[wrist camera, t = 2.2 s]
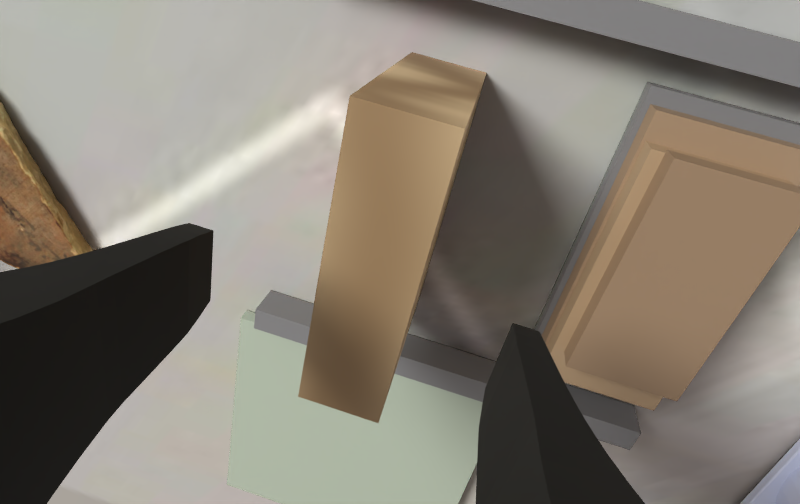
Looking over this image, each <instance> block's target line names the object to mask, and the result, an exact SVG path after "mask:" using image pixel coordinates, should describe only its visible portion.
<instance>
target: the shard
mask: <svg viewBox="0 0 800 504" xmlns="http://www.w3.org/2000/svg"><path fill="white" fill-rule="evenodd" d="M90 251H93V250H92V248H91V247H90V246H89V244H88V243H87V242H86V240H85V239H84V238H83V236H82V234H81V233H80V231H79V230H78V228H77V227H76V225H75V223H74V221H73V220H72V219H71V218H70V217H69V215H68V213H67V211H66V210H65V208H64V207H63V206H62V205H61V204H60V203H59V202H58V201H57V199H56V197H55V195H54V194H53V192H52V189H51V187H50V186H49V184H48V183H47V181H46V179H45V177H44V176H43V175H42V173H41V171H40V169H39V167H38V165H37V164H36V162H35V161H34V160H33V158H32V156H31V155H30V153H29V152H28V150H27V147H26V146H25V144H24V143H23V142H22V140H21V138H20V136H19V134H18V132H17V130H16V129H15V127H14V125H13V124H12V122H11V120H10V117H9V116H8V114H7V112H6V110H5V108H4V106H3V104H2V103H1V101H0V260H1V261H3V262H5V263H7V264H8V265H11V266H13V267H15V268H18V269H20V268H26V267H30V266H35V265H40V264H44V263H48V262H53V261H56V260H60V259H64V258H68V257H72V256H75V255H79V254H83V253H87V252H90Z"/></svg>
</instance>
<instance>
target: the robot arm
mask: <svg viewBox="0 0 800 504" xmlns="http://www.w3.org/2000/svg"><path fill="white" fill-rule="evenodd" d="M212 250H213V230H210V229H206V228H203V227H200V226H197V225H193V224H190V223H188V224H183V225H179V226H175V227H172V228H168V229H165V230H161V231H158V232H154V233H151V234H148V235H145V236H141V237H138V238H135V239H132V240H128V241H125V242H122V243H118V244H115V245H112V246H108V247H105V248H102V249H98V250H94V251H90V252H87V253H83V254H79V255H75V256H72V257H68V258H64V259H60V260H56V261H53V262H48V263H44V264H40V265H35V266H30V267H26V268H20V269H15V270H10V271H4V272H0V504H47V502H48V501H49V499H50V498H51V497H52V495H53V494H54V492H55V491H56V490H57V488H58V487H59V485H60V484H61V483H62V481H63V480H64V478H65V477H66V476H67V474H68V473H69V471H70V470H71V469H72V467H73V466H74V465H75V463H76V462H77V460H78V459H79V458H80V456H81V455H82V454H83V452H84V451H85V450H86V448H87V447H88V446H89V444H90V443H91V442H92V440H93V439H94V438H95V436H96V435H97V434H98V433H99V431H100V430H101V429H102V427H103V426H104V425H105V423H106V422H107V421H108V419H109V418H110V417H111V416H112V415H113V414H114V412H115V411H116V410H117V409H118V408H119V407H120V405H121V404H122V403H123V402H124V401H125V400H126V399H127V398H128V397H129V396H130V395H131V393H132V392H133V391H134V390H135V389H136V388H137V387H138V386H139V385H140V384H141V383H142V382H143V381H144V380H145V379H146V378H147V376H148V375H149V374H150V373H151V372H152V371H153V370H154V369H155V368H156V367H157V366H158V365H159V364H160V363H161V362H162V360H163V359H164V358H165V357H166V356H167V355H168V354H169V353H170V352H171V351H172V350H173V349H174V347H175V346H176V345H177V344H178V343H179V342H180V341H181V340H182V339H183V338H184V336H185V335H186V334H187V333H188V332H189V330H190V329H191V328H192V326H193V325H194V323H195V322H196V321H197V319H198V318H199V316H200V315H201V313H202V312H203V310H204V309H205V307H206V306H207V304H208V303H209V302H210V295H211V272H212ZM476 504H645V503H644V502H643V501H642V499H641V498H640V497H639V495H638V494H637V493H636V492H635V490H634V489H633V488H632V487H631V485H630V484H629V483H628V481H627V480H626V479H625V477H624V476H623V475H622V473H621V472H620V471H619V469H618V468H617V466H616V465H615V464H614V462H613V461H612V460H611V458H610V457H609V456H608V454H607V453H606V451H605V450H604V448H603V447H602V445H601V444H600V442H599V441H598V439H597V438H596V436H595V434H594V433H593V431H592V430H591V428H590V426H589V425H588V423H587V422H586V420H585V418H584V417H583V415H582V413H581V412H580V410H579V408H578V406H577V405H576V403H575V401H574V399H573V397H572V395H571V394H570V392H569V390H568V388H567V386H566V384H565V382H564V380H563V378H562V376H561V374H560V372H559V370H558V368H557V366H556V364H555V362H554V360H553V358H552V356H551V354H550V352H549V350H548V348H547V346H546V344H545V342H544V340H543V338H542V336H541V334H540V332H539V331H536V330H533V329H530V328H526V327H523V326H520V325H517V324H514V323H513V324H512V326H511V329H510V331H509V333H508V336H507V338H506V340H505V343H504V345H503V347H502V350H501V352H500V355H499V357H498V359H497V362H496V364H495V366H494V369H493V371H492V373H491V376H490V378H489V380H488V383H487V385H486V387H485V392H484V398H483V404H482V410H481V416H480V423H479V432H478V457H477V486H476ZM740 504H800V439H799V440H798V441H797V442H796V443H795V444H794V445H793V447H792V448H791V449H790V450H789V451H788V452H787V453H786V454H785V455H784V456H783V457H782V459H781V460H780V461H779V462H778V463H777V464H776V465H775V466H774V467H773V468H772V469H771V470H770V472H769V473H768V474H767V475H766V476H765V477H764V478H763V479H762V480H761V481H760V482H759V483H758V485H757V486H756V487H755V488H754V489H753V490H752V491H751V492H750V493H749V494H748V495H747V496H746V498H745V499H744V500H743V501H742V502H741V503H740Z"/></svg>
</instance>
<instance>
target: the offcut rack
mask: <svg viewBox="0 0 800 504" xmlns="http://www.w3.org/2000/svg"><path fill="white" fill-rule="evenodd" d="M473 1H477V2H481V3H485V4H488V5H492V6H496V7H500V8H503V9H507V10H511V11H515V12H518V13H522V14H526V15H530V16H533V17H537V18H541V19H545V20H548V21H552V22H556V23H560V24H563V25H567V26H571V27H575V28H578V29H582V30H586V31H590V32H593V33H597V34H601V35H605V36H608V37H612V38H616V39H620V40H623V41H627V42H631V43H634V44H638V45H642V46H646V47H649V48H653V49H657V50H661V51H664V52H668V53H672V54H676V55H679V56H683V57H687V58H691V59H694V60H698V61H702V62H706V63H709V64H713V65H717V66H721V67H724V68H728V69H732V70H736V71H739V72H743V73H747V74H751V75H754V76H758V77H762V78H766V79H769V80H773V81H777V82H781V83H784V84H788V85H792V86H795V87H799V88H800V42H796V41H793V40H789V39H785V38H781V37H777V36H773V35H770V34H766V33H762V32H758V31H754V30H750V29H747V28H743V27H739V26H735V25H731V24H727V23H724V22H720V21H716V20H712V19H708V18H705V17H701V16H697V15H693V14H689V13H685V12H682V11H678V10H674V9H670V8H666V7H662V6H659V5H655V4H651V3H647V2H643V1H639V0H473ZM799 185H800V123H797V122H794V121H790V120H786V119H783V118H779V117H775V116H772V115H768V114H764V113H761V112H757V111H753V110H749V109H746V108H742V107H738V106H735V105H731V104H727V103H724V102H720V101H716V100H713V99H709V98H705V97H702V96H698V95H694V94H691V93H687V92H683V91H680V90H676V89H672V88H669V87H665V86H661V85H658V84H654V83H650V82H647V84H646V86H645V88H644V91H643V93H642V95H641V97H640V99H639V102H638V104H637V106H636V108H635V110H634V112H633V115H632V117H631V119H630V121H629V123H628V126H627V128H626V130H625V132H624V134H623V137H622V139H621V141H620V143H619V145H618V147H617V150H616V152H615V154H614V156H613V158H612V161H611V163H610V165H609V167H608V169H607V172H606V174H605V176H604V178H603V180H602V182H601V185H600V187H599V189H598V191H597V193H596V196H595V198H594V200H593V202H592V204H591V206H590V209H589V211H588V213H587V215H586V217H585V220H584V222H583V224H582V226H581V228H580V231H579V233H578V235H577V237H576V239H575V241H574V244H573V246H572V248H571V250H570V252H569V255H568V257H567V259H566V261H565V263H564V266H563V268H562V270H561V272H560V274H559V276H558V279H557V281H556V283H555V285H554V287H553V290H552V292H551V294H550V296H549V298H548V301H547V303H546V305H545V307H544V309H543V311H542V314H541V316H540V318H539V320H538V322H537V325H536V327H535V329H534V330H536V331H539V332H540V334H541V336H542V338H543V340H544V342H545V344H546V346H547V348H548V350H549V352H550V354H551V356H552V358H553V360H554V362H555V364H556V366H557V368H558V370H559V372H560V374H561V376H562V378H563V380H564V382H565V383H568V384H571V385H575V386H578V387H581V388H584V389H587V390H590V391H593V392H597V393H600V394H603V395H606V396H609V397H612V398H615V399H619V400H622V401H625V402H628V403H631V404H634V405H638V406H641V407H644V408H647V409H650V410H653V411H654V410H655V408H656V407H657V405H658V404H659V402H660V401H661V399H662V398H663V397H665V398H668V399H671V400H674V401H678V399H679V398H680V397H681V395H682V394H683V392H684V391H685V389H686V388H687V387H688V385H689V384H690V382H691V381H692V379H693V378H694V377H695V375H696V374H697V372H698V371H699V369H700V368H701V367H702V365H703V364H704V362H705V361H706V360H707V358H708V357H709V355H710V354H711V352H712V351H713V350H714V348H715V347H716V345H717V344H718V342H719V341H720V340H721V338H722V337H723V335H724V334H725V332H726V331H727V330H728V328H729V327H730V325H731V324H732V322H733V321H734V320H735V318H736V317H737V315H738V314H739V313H740V311H741V310H742V308H743V307H744V305H745V304H746V303H747V301H748V300H749V298H750V297H751V295H752V294H753V293H754V291H755V290H756V288H757V287H758V285H759V284H760V283H761V281H762V280H763V278H764V277H765V276H766V274H767V273H768V271H769V270H770V268H771V267H772V266H773V264H774V263H775V261H776V260H777V258H778V257H779V256H780V254H781V253H782V251H783V250H784V248H785V247H786V246H787V244H788V243H789V241H790V240H791V239H792V237H793V236H794V234H795V233H796V231H797V230H798V229H799V227H800V187H799ZM313 307H314V304H313V303H309V302H306V301H303V300H300V299H297V298H294V297H291V296H287V295H284V294H281V293H278V292H275V291H272V290H271V291H270V292H269V294H268V295H267V296H266V297H265V299H264V300H263V301H262V302H261V304H260V305H259V306H258V307H257V309H256V311H255V321H254V328H255V329H258V330H261V331H264V332H267V333H270V334H273V335H276V336H279V337H282V338H285V339H289V340H292V341H295V342H298V343H301V344H304V345H307V342H308V336H309V330H310V324H311V318H312V313H313ZM495 364H496V362H495V361H492V360H489V359H486V358H483V357H480V356H476V355H473V354H470V353H467V352H464V351H461V350H457V349H454V348H451V347H448V346H445V345H442V344H439V343H435V342H432V341H429V340H426V339H423V338H420V337H417V336H413V335H410V334H407V337H406V340H405V343H404V346H403V349H402V352H401V355H400V358H399V362H398V365H397V368H396V371H395V374H397V375H400V376H403V377H406V378H409V379H412V380H415V381H418V382H421V383H424V384H428V385H431V386H434V387H437V388H440V389H443V390H446V391H449V392H452V393H455V394H458V395H462V396H465V397H468V398H471V399H474V400H477V401H480V402H483V398H484V392H485V387H486V385H487V383H488V380H489V378H490V376H491V373H492V371H493V369H494V366H495ZM568 384H566V386H567V388H568V390H569V392H570V394H571V395H572V397H573V399H574V401H575V403H576V405H577V406H578V408H579V410H580V412H581V413H582V415H583V417H584V418H585V420H586V422H587V423H588V425H589V426H590V428H591V430H592V431H593V433H594V434H595V436H596V438H597V439H598V440H600V441H604V442H607V443H610V444H613V445H616V446H619V447H622V448H625V449H628V450H630V449H631V447H632V446H633V444H634V443H635V442H636V440H637V439H638V437H639V436H640V434H641V431H640V427H639V423H638V419H637V415H636V411H635V407H634V405H631V404H628V403H624V402H621V401H618V400H615V399H612V398H609V397H606V396H602V395H599V394H596V393H593V392H590V391H587V390H583V389H580V388H577V387H574V386H571V385H568Z"/></svg>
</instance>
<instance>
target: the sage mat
mask: <svg viewBox="0 0 800 504" xmlns="http://www.w3.org/2000/svg"><path fill="white" fill-rule="evenodd" d="M254 321H255V313H254V312H251V311H248V310H247V311H246V312H245V314H244V315H243V316H242V317H241V323H240V335H239V346H238V358H237V370H236V382H235V394H234V406H233V418H232V430H231V442H230V454H229V466H228V477H227V485H229V486H232V487H235V488H238V489H241V490H243V491H246V492H249V493H252V494H255V495H258V496H261V497H264V498H266V499H269V500H272V501H275V502H278V503H281V504H458V503H459V501H460V498H461V496H462V494H463V492H464V490H465V488H466V486H467V483H468V481H469V479H470V477H471V475H472V473H473V470H474V468H475V466H476V464H477V457H478V432H479V423H480V416H481V410H482V404H483V402H480V401H477V400H474V399H471V398H468V397H465V396H462V395H458V394H455V393H452V392H449V391H446V390H443V389H440V388H437V387H434V386H431V385H428V384H424V383H421V382H418V381H415V380H412V379H409V378H406V377H403V376H400V375H397V374H394V377H393V380H392V383H391V386H390V389H389V392H388V395H387V398H386V402H385V405H384V408H383V411H382V414H381V417H380V420H379V423H376V422H373V421H370V420H367V419H364V418H361V417H358V416H355V415H352V414H349V413H346V412H343V411H340V410H337V409H334V408H331V407H328V406H325V405H322V404H319V403H316V402H313V401H310V400H307V399H304V398H301V397H298V394H299V388H300V382H301V376H302V371H303V365H304V359H305V353H306V347H307V345H304V344H301V343H298V342H295V341H292V340H289V339H285V338H282V337H279V336H276V335H273V334H270V333H267V332H264V331H261V330H258V329H255V328H254Z"/></svg>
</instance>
